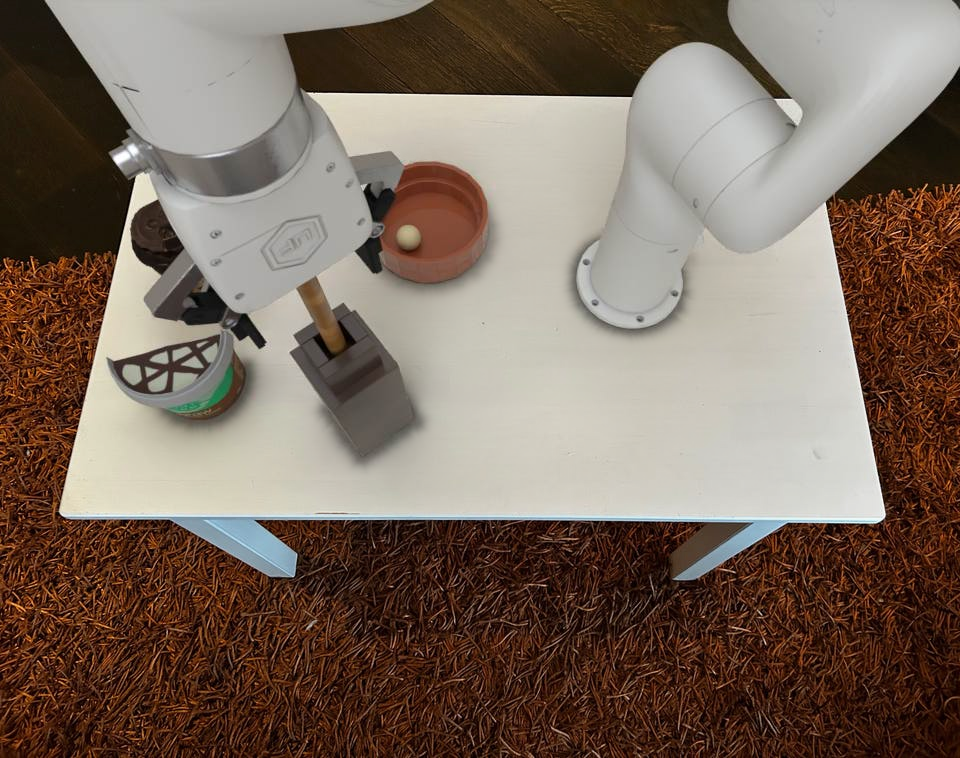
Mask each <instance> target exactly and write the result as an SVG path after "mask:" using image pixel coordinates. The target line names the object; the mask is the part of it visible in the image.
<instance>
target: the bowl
mask: <svg viewBox="0 0 960 758" xmlns="http://www.w3.org/2000/svg"><path fill="white" fill-rule="evenodd" d="M403 165H404V169H403V172H402V175H401V177H400V180H399V183H398V186H397V187H396V188H395V190H394V193H395V194H396V199H395V201H394V202H393V204H392V206H391V207H390V209H389V210H388V212H387V214H386V215H385V217H384V218H383V220H382V221H381V222H382V223H383V224H384V226H385V229H384V231H383V233H382V234H381V235H379V236H380V240H381V244H382V248H383V251H382V252H380V253H379V257H380V261H381V263H382V265H384V266H385V268H387V270H389V271H391V272H392V273H394V274H396V275H398V276H399V277H400V278H403V279H406V280H410V281H412V282H413V281H414V282H418V283H440V282H441V283H442V282H443V281H447V280H450V279H454V278H456V277H459V276H460V275H462V274H463V273H464V272H466V271H467V270H470V268H472V267H473V266H474V265H475V264H476V262H477V261H478V259H479V258H480V257H481V256H482V255H483V252H484V250H485V247H486V244H487V241H488V234H489V233H488V231H489V230H488V229H489V207H488V206H489V205H488V200H487V197H486V195H485V193H484V190H483V188H482V187H481V185H480V183H478V181H476V179H475V178H474V177H473V176H472V175H471V174H470V173H468V172H466V171H464V170H462V168H459V167H457V166H456V165H454V164H449V163H445V162H442V161H435V160H434V161H433V160H432V161H429V160H427V161H415V162H412V163H409V164H408V163H407V164H403ZM405 225H412V226H414V227H416V228H417V229H418V230H419V232H420V234H421V242H420V244H419V246H418V247H417V248H415V249H414V250H404V249H402V248H401V247H400V246H399V245H398V243H397V241H396V234H397V232H398V230H399V229H400V228H401V227H402V226H405Z"/></svg>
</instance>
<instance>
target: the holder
mask: <svg viewBox="0 0 960 758" xmlns="http://www.w3.org/2000/svg"><path fill="white" fill-rule="evenodd" d="M332 312H333V314H334V316H335V318H336V320H337V323H338V325H339V327H340V329H341V332H342V334H343V336H344V338H345V340H346V343H347V345H348V347H349V348H348V349H347V350H345V351H344V352H342V353H341V354H339V355H338V356H336V357H335V358H333V357H332V355H331V353H330V351H329V350H328V348H327V346H326V344H325V342H324V340H323V338H322V336H321V334H320V333H319V331H318V329H317V327H316V325H315V323H314V321H312V322H310V323H309V324H308V325H306V326H305V327H303V328H302V329H300V330H298V331H297V332H295V333H294V334H293V335H292V336H293V338H294V340H295V341H296V343H297V344H298V346H297V347H295V348H293V349H291V351H290V352H289V355H290V356H291V357H292V359H293V360H294V362H295V364H297V366H298V368H299V369H300V371H301V372H302V373H303V375H304V376H305V378H306V380H307V381H308V383H309V384H310V386H311V387H312V388H313V390H314V391H315V393H316V395H317V396H318V398H319V399H320V400H321V402H322V403H323V405H324V406H325V408H326V409H327V411H328V412H329V413H330V415H331V416H332V417H333V419H334V420H335V422H336V423H337V424H338V426H339V427H340V429H341V430H342V431H343V433H344V434H345V435H346V437H347V438H348V440H349V442H351V444H352V445H353V447H354V449H356V451H357V452H358V454H359V455H360V457H362V458H364V457H366V455H368V454H369V453H371V452H372V451H373V450H375V449H376V448H378V447H379V446H381V445H382V444H383V443H385V442H387V441H388V440H389V439H390V438H392V437H393V436H394V435H396V434H398V432H400V431H402V430H403V429H405V428H406V427H407V426H409V425H410V424H411V423H413V422H414V421H415V416H414V413H413V410H412V406H411V402H410V400H409V399H410V398H409V395H408V393H407V389H406V385H405V382H404V378H403V376H402V372H401V368H400V365H399V364H398V362H397V361H396V360H395V358H393V356H392V355H391V354H390V352H389V351H388V350H387V349H386V347H385V346H384V344H383V343H382V342H381V341H380V339H379V338H378V336H376V334H375V333H374V332H373V330H372V329H371V328H370V327H369V326H368V324H367V323H366V322H365V320H364V319H363V317H362V316H361V315H360V314H359V313H358V311H357V310H356V309H353V310H352V311H351V310H350V309H349V308H348V307H347V305H346V304H345V303H344V302H342V303H340V304H339V305H337V306H336V307H334V308H333V309H332Z"/></svg>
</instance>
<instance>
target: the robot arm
mask: <svg viewBox="0 0 960 758" xmlns="http://www.w3.org/2000/svg"><path fill="white" fill-rule="evenodd" d="M44 1H45V3H46V5H47V6H48V7H49V9H50V10H51V12H52V13H53V14H54V16H55V18H56V19H57V20H58V22H59V24H60V25H61V27H62V28H63V29H64V30H65V32H66V34H67V35H68V36H69V38H70V39H71V41H72V43H73V44H74V45H75V47H76V48H77V49H78V51H79V52H80V54H81V55H82V57H83V59H84V60H85V61H86V63H87V64H88V65H89V67H90V69H92V71H93V73H94V74H95V76H96V77H97V78H98V80H99V81H100V83H101V85H102V86H103V87H104V89H105V90H106V92H107V94H108V95H109V96H110V98H111V100H112V101H113V102H114V104H115V105H116V107H117V108H118V109H119V111H120V113H121V114H122V116H123V118H124V119H125V120H126V122H127V123H128V125H129V126H130V127H131V128H129V129H127V130H125V132H126V134H127V135H128V137H127V138H126V139H123V140H121V143H122V145H120V146H118V147H116V148H115V149H113V150H110V151H108V154H109V156H110V158H111V159H112V160H113V162H114V163H115V165H116V166H117V167H118V168H119V170H120V171H121V173H122V174H123V175H124V177H125V178H126V179H127V181H130V180H132V179H133V178H136V177H137V176H139V175H140V174H142V173H143V174H144V175H147V174H148V176H149V179H150V182H151V185H152V187H153V190H154V193H155V196H156V197H157V199H158V200H159V202H160V204H161V206H162V208H163V210H164V212H165V214H166V216H167V218H168V220H169V222H170V224H171V226H172V227H173V229H174V231H175V232H176V234H177V236H178V238H179V239H180V241H181V242H182V244H183V246H184V247H185V248H184V250H183V251H182V252H181V253H180V254H179V255H178V257H177V258H176V259H175V260H174V261H173V263H172V264H171V265H170V266H169V267H168V269H167V270H166V271H165V272H164V273H163V275H162V276H161V275H160V277H159V278H158V279H157V281H156V282H155V283H154V284H153V285H152V286H151V288H150V289H149V290H148V291H147V292H146V294H145V295H144V296H143V302H144V303H145V305H146V307H147V308H148V310H149V311H150V313H151V314H152V315H153V317H154V318H155V319H161V320H167V321H168V320H169V321H172V322H178V321H182V322H184V324H185V326H191V327H194V326H205V325H215V324H218V325H219V326H220V328H221V329H222V330H230V331H231V333H232V335H233V336H234V337H236V339H237V340H238V341H239V342H241V341H242V340H244V339H246V338H247V337H249V338H250V340H251V341H252V342H253V344H254V345H255V346H256V348H257V349H258V350H259V351H260V350H261V349H263V348H264V347H266V344H267V343H268V342H267V340H266V338H265V337H264V336H263V335H262V333H261V332H260V331H259V329H258V328H257V326H256V324H255V323H254V322H253V321H252V319H251V317H250V316H249V315H248V314H249V313H254V312H256V311H259V310H261V309H263V308H265V307H268V306H269V305H271V304H273V303H274V302H277V301H278V300H280V299H282V298H283V297H284V296H286V295H288V294H289V293H291V292H292V291H295V290H297V289H296V288H297V287H299V286H300V285H302V284H304V283H305V282H307V281H309V280H310V279H312V278H313V277H315V276H318V275H320V274H321V273H323V272H324V271H326V270H327V269H329V268H331V267H332V266H334V265H335V264H338V263H339V262H340V261H341V260H343V259H345V258H346V257H348V256H349V255H351V254H352V253H355V254H356V255H357V256H358V257H359V259H360V260H361V261H362V262H363V264H364V265H365V266H366V267H367V268H368V270H369V271H370V272H371V274H373V275H379V274H381V272H383V271H384V268H383V263H382V261H381V260H380V257H379V253H380V252H382V251H383V248H382V244H381V240H380V236H379V235H381V234H382V233H383V231H384V229H385V226H384V224H383V223H382V222H381V221H382V220H383V218H384V217H385V215H386V214H387V212H388V210H389V209H390V207H391V206H392V204H393V202H394V201H395V199H396V194H395V193H394V190H395V188H396V187H397V186H398V183H399V180H400V177H401V175H402V172H403V169H404V165H405V164H403V162H402V161H401V160H400V159H399V158H398V157H397V156H396V154H395V153H394V152H393V151H391V150H387V151H380V152H375V153H374V152H373V153H367V154H360V155H352V156H349V154H348V152H347V150H346V147H345V145H344V143H343V141H342V139H341V136H340V135H339V133H338V131H337V130H336V128H335V125H334V124H333V121H332V120H331V119H330V117H329V116H328V114H327V113H326V111H325V110H324V108H323V107H322V106H321V104H320V103H318V102H317V100H315V99H314V98H313V97H311V96H310V95H309V93H308V92H306V91H305V90H303V88H301V86H300V82H299V80H298V77H297V74H296V71H295V67H294V64H293V61H292V58H291V54H290V51H289V48H288V45H287V42H286V39H285V36H284V35H285V34H293V33H302V32H311V31H320V30H328V29H339V28H347V27H355V26H356V27H357V26H362V25H368V24H374V23H380V22H384V21H385V22H386V21H389V20H392V19H396V18H399V17H403V16H407V15H409V14H411V13H413V12H416V11H417V10H419V9H421V8H423V7H425V6H426V5H428V4H430V3H432V2H434V1H435V0H44ZM727 17H728V21H729V24H730V26H731V28H732V31H733V32H734V34H735V36H736V37H737V38H738V39H739V41H740V42H741V44H742V45H744V47H745V49H747V51H748V52H749V53H750V54H751V55H752V56H753V57H754V58H755V60H756V61H757V62H758V63H759V64H760V65H761V66H762V68H763V69H764V70H766V72H767V73H768V74H769V75H770V76H771V77H772V78H773V80H775V82H776V83H777V84H778V85H779V86H780V87H781V89H782V90H784V91H785V92H786V94H787V95H788V96H789V97H790V98H791V99H792V100H793V101H794V102H795V103H796V104H797V106H798V107H800V109H801V113H802V115H801V118H800V120H799V123H798V124H797V123H796V122H794V120H793V119H792V118H791V117H790V116H789V115H788V114H787V113H786V111H785V110H783V108H782V107H781V106H780V105H779V104H778V102H777V101H776V99H775V98H774V97H773V96H772V95H771V94H770V93H769V92H768V91H767V89H765V88H764V87H763V85H762V84H761V83H760V82H759V81H758V80H757V79H756V78H755V77H754V76H753V74H752V73H750V71H749V70H748V69H747V68H746V67H745V66H744V65H743V64H742V63H741V62H740V61H738V60H737V59H736V58H735V57H734V56H733V55H731V54H730V53H729V52H727V51H726V50H724V49H722V48H721V47H718V46H716V45H713V44H710V43H706V42H701V41H700V42H694V41H693V42H687V43H682V44H680V45H677V46H675V47H673V48H671V49H669V50H667V51H666V52H664V53H663V54H661V55H660V56H659V57H658V58H657V59H656V60H655V61H654V62H652V64H651V65H650V66H649V67H648V68H647V69H646V70H645V72H644V73H643V75H642V76H641V78H640V80H639V82H638V84H637V85H636V88H635V89H634V92H633V94H632V96H631V100H630V103H629V108H628V113H627V119H626V128H625V151H624V152H625V153H624V160H623V165H622V169H621V173H620V176H619V180H618V183H617V186H616V189H615V192H614V195H613V198H612V201H611V204H610V207H609V210H608V214H607V216H606V220H605V222H604V226H603V228H602V229H603V230H602V232H601V236H600V239H597V240H596V241H594V242H593V243H592V244H590V246H588V248H587V249H586V250H585V251H584V253H583V254H582V256H581V258H580V260H579V262H578V266H577V269H576V275H575V282H576V288H577V293H578V295H579V297H580V299H581V301H582V302H583V304H584V306H585V307H586V309H588V310H589V312H590V313H592V314H593V315H594V316H595V317H596V318H598V319H599V320H601V321H603V322H604V323H606V324H609V325H611V326H614V327H617V328H622V329H630V330H631V329H637V330H639V329H643V328H649V327H652V326H654V325H657V324H658V323H660V322H661V321H664V320H665V319H666V318H667V317H668V316H669V315H670V314H672V313H673V311H674V309H675V308H676V307H677V305H678V303H679V301H680V300H681V297H682V293H683V285H684V279H683V274H682V269H683V267H684V266H685V264H686V262H687V260H688V259H689V257H690V255H691V253H692V251H693V250H695V249H696V248H697V247H699V246H701V245H702V244H703V243H704V241H705V239H704V235H703V232H704V231H705V229H706V230H707V231H708V232H709V233H710V235H711V236H712V237H713V238H714V239H715V240H716V241H717V242H718V243H719V244H720V245H721V246H722V247H724V248H725V249H728V250H729V251H731V252H733V253H737V254H744V255H745V254H746V255H747V254H754V253H758V252H761V251H763V250H766V249H768V248H770V247H772V246H774V245H775V244H777V243H778V242H780V241H781V240H782V239H784V238H785V237H787V236H788V235H790V234H791V233H792V232H793V231H794V230H796V229H797V228H798V227H799V226H800V225H802V223H803V222H805V221H806V220H807V219H808V218H810V216H812V215H813V214H814V213H815V212H816V211H817V210H818V209H819V208H821V207H822V205H824V204H825V203H826V202H827V201H829V199H830V198H831V197H833V195H834V194H835V193H836V192H838V191H839V190H840V189H841V188H842V187H844V185H846V183H848V181H850V180H852V178H853V177H854V176H855V175H856V174H858V172H860V171H861V170H862V169H863V168H864V167H865V166H866V165H867V164H868V163H869V162H870V161H872V160H873V158H875V157H876V156H877V155H878V154H879V153H880V152H882V150H884V149H885V147H886V146H888V145H889V144H890V143H891V142H892V141H893V140H895V139H896V138H897V136H899V135H900V134H901V133H902V132H903V131H904V130H905V129H907V128H908V127H909V126H910V125H911V124H912V123H913V122H914V121H915V120H916V119H917V118H918V117H919V116H920V115H921V114H922V113H923V112H924V111H925V110H926V109H927V108H928V107H929V106H930V105H931V104H932V103H933V102H934V101H935V100H936V99H937V97H939V95H940V94H941V93H942V91H944V89H946V87H947V86H948V84H950V82H951V81H952V79H953V78H954V76H955V75H956V73H957V71H958V70H959V68H960V8H959V6H958V5H957V3H955V2H954V1H953V0H728V3H727ZM363 185H365V188H364V189H363V187H362V186H363ZM203 277H205V281H204V284H203V286H202V289H201V292H191V291H192V290H193V288H194V287H195V286H196V285H197V284H198V283H199V281H200V280H201V279H202V278H203Z"/></svg>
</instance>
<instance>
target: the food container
mask: <svg viewBox="0 0 960 758" xmlns="http://www.w3.org/2000/svg"><path fill="white" fill-rule="evenodd" d="M219 332H220V333H218V334H213V335H211V336H208V337H204V338H200V339H196V340H190V341H185V342H180V343H175V344H171V345H170V344H169V345H166V346H162V347H159V348H155V349H153V350H150V351H147V352H143V353H140V354H136V355H132V356H128V357H125V358H121V359H116V360H113V359H112V358H110V357H108V356H106V357H105V359H106V364H107V368H108V371H109V374H110V376H111V378H112V379H113V381H114V383H115V384H116V385H117V386H118V388H119V389H120V390H121V392H123V393H124V395H125V396H127V397H128V398H130V399H131V400H132V401H134V402H136V403H138V404H140V405H143V406H146V407H149V408H150V407H151V408H157V409H158V408H159V409H165V410H167V411H169V412H171V413H172V414H175V415H177V416H179V417H181V418H185V419H187V420H191V421H207V420H211V419H213V418H216V417H218V416H220V415H222V414H224V413H225V412H226V411H228V410H229V409H231V408H232V406H233V405H234V404H235V403H236V402H237V401H238V399H239V398H240V395H241V394H242V392H243V389H244V386H245V383H246V382H245V381H246V369H245V368H246V367H245V366H244V365H243V362H242V361H241V359H240V358H239V356H238V354H237V352H236V350H235V349H234V347H235V345H234V344H235V340H234V334H233V333H230V332H229V331H228V330H227V329H223V328H221V327H219Z"/></svg>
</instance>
